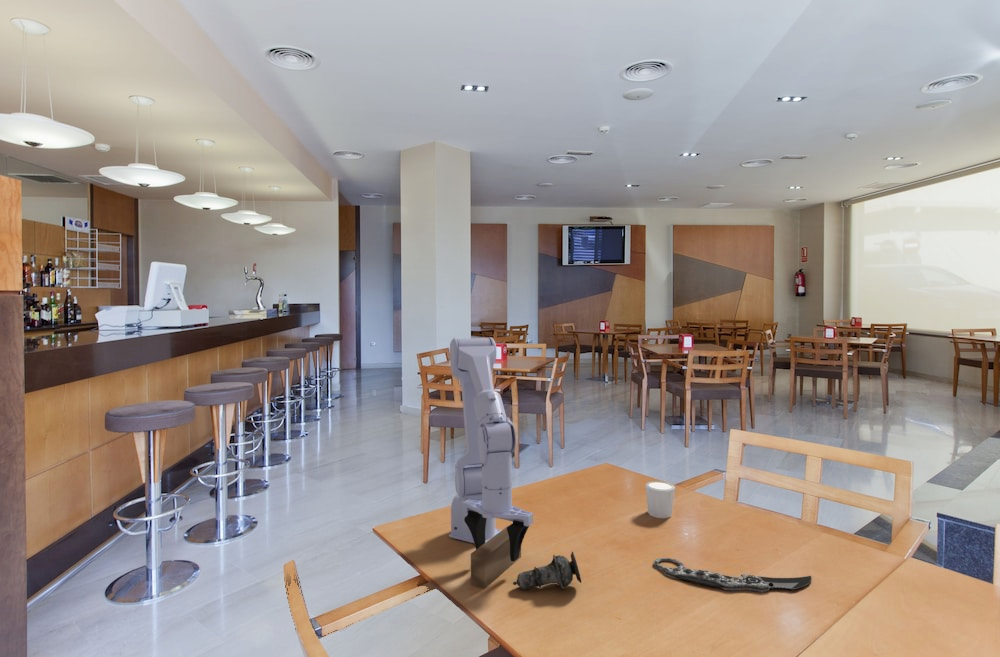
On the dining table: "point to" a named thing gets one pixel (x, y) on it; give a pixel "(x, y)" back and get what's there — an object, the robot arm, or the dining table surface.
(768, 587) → the knife
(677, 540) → the dining table surface
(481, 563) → the dark wooden brick
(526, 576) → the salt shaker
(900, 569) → the dining table surface
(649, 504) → the white cylinder
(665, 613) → the dining table surface
